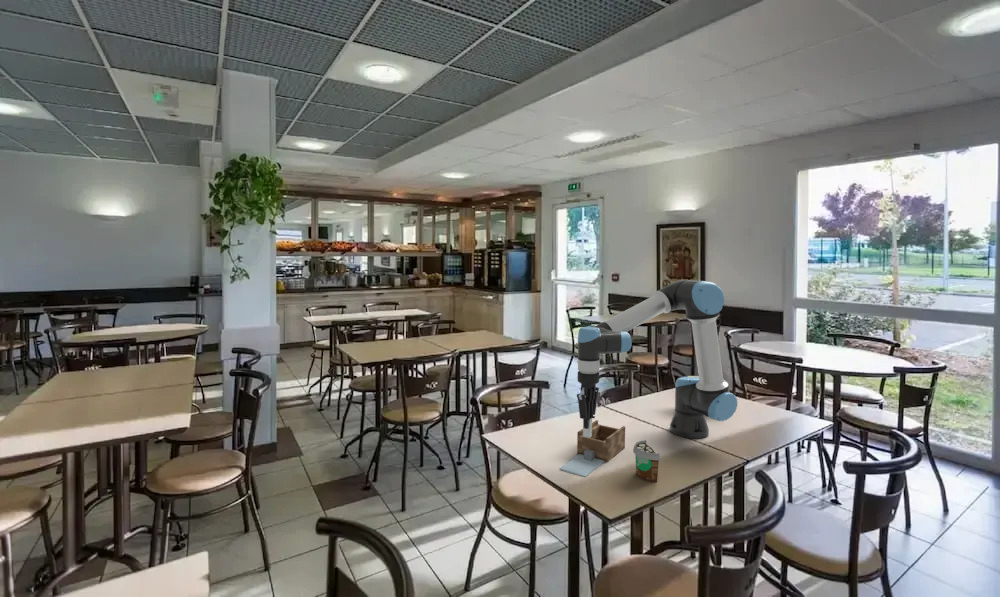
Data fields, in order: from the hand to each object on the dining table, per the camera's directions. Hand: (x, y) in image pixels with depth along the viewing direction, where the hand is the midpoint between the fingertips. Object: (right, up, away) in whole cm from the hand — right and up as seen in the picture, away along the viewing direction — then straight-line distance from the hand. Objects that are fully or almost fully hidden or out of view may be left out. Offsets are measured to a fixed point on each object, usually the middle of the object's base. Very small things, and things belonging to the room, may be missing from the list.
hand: (587, 436), depth 174 cm
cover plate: (-2, -10, -2) cm, 11 cm away
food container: (+17, -11, -10) cm, 22 cm away
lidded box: (+7, -9, +10) cm, 15 cm away
